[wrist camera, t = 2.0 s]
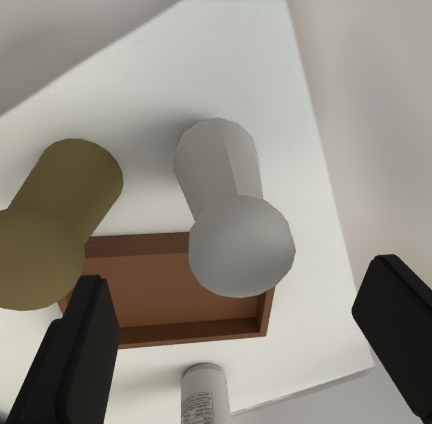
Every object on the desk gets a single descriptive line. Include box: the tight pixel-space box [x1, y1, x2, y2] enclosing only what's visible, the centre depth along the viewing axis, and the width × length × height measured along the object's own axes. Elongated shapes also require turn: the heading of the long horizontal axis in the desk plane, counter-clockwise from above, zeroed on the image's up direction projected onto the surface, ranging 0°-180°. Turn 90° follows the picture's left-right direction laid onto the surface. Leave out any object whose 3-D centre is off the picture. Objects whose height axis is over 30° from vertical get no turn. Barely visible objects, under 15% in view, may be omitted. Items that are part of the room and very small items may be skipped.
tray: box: [57, 232, 275, 349], centre depth 27 cm, size 20×13×3 cm, turn 89°
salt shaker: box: [174, 118, 296, 298], centre depth 16 cm, size 6×6×13 cm
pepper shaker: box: [0, 139, 123, 311], centre depth 17 cm, size 6×6×11 cm
